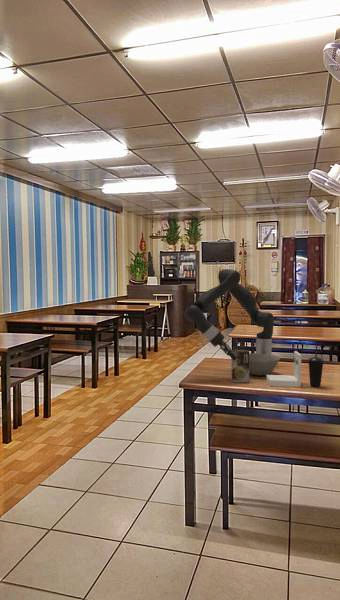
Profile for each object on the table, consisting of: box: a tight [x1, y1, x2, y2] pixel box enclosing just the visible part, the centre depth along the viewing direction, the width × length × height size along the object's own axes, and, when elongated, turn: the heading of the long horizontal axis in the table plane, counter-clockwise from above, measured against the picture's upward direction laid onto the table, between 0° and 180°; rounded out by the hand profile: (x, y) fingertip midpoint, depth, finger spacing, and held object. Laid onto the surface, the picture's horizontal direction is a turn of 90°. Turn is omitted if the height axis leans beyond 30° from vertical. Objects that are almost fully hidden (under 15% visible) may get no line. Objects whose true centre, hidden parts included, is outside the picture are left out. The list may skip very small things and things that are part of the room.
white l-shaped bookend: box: [265, 350, 302, 388], centre depth 217 cm, size 12×15×16 cm
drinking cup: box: [307, 346, 325, 388], centre depth 212 cm, size 8×8×20 cm
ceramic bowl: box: [249, 352, 281, 376], centre depth 238 cm, size 22×23×10 cm
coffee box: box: [230, 349, 250, 383], centre depth 222 cm, size 9×6×16 cm
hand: (235, 357), depth 222 cm, fingers open, 8 cm apart
